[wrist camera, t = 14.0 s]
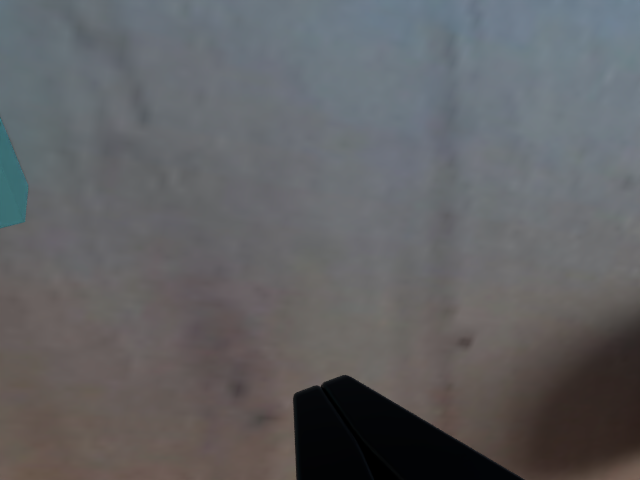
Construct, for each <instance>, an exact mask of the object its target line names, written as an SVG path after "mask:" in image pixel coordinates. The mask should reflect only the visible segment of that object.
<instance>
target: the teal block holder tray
mask: <svg viewBox="0 0 640 480" xmlns="http://www.w3.org/2000/svg"><path fill="white" fill-rule="evenodd" d="M27 195H28V184H27V182H26V179H25V177H24V174H23V172H22V170H21V167H20V165H19V162H18V160H17V157H16V155H15V152H14V150H13V147H12V145H11V143H10V140H9V138H8V135H7V133H6V130H5V128H4V125H3V123H2V120H1V118H0V228H3V227H7V226H11V225H15V224H19V223H22V222H25V216H26V205H27Z"/></svg>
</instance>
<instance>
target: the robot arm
mask: <svg viewBox="0 0 640 480" xmlns="http://www.w3.org/2000/svg"><path fill="white" fill-rule="evenodd" d="M293 406H294V430H295V455H296V479H297V480H524V479H523V478H521V477H519V476H518V475H516V474H514V473H513V472H511V471H509V470H507V469H506V468H504V467H502V466H501V465H499V464H497V463H496V462H494V461H492V460H491V459H489V458H487V457H485V456H484V455H482V454H480V453H479V452H477V451H475V450H474V449H472V448H470V447H469V446H467V445H465V444H464V443H462V442H460V441H458V440H457V439H455V438H453V437H452V436H450V435H448V434H447V433H445V432H443V431H442V430H440V429H438V428H436V427H435V426H433V425H431V424H430V423H428V422H426V421H425V420H423V419H421V418H420V417H418V416H416V415H414V414H413V413H411V412H409V411H408V410H406V409H404V408H403V407H401V406H399V405H398V404H396V403H394V402H392V401H391V400H389V399H387V398H386V397H384V396H382V395H381V394H379V393H377V392H376V391H374V390H372V389H371V388H369V387H367V386H365V385H364V384H362V383H360V382H359V381H357V380H355V379H354V378H352V377H350V376H347V375H342V376H340V377H337V378H334V379H332V380H329V381H326V382H324V383H323V384H322V385H321V387H320V386H317V385H316V386H313V387H310V388H307V389H305V390H302V391H299V392H297V393H295V394H294V397H293Z"/></svg>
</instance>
